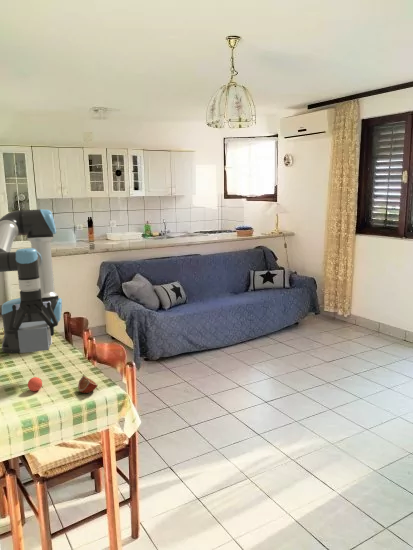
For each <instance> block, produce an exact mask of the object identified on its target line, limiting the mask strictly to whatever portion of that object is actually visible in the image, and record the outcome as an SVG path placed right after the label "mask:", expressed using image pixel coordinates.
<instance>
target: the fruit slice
mask: <svg viewBox="0 0 413 550" xmlns="http://www.w3.org/2000/svg"><path fill="white" fill-rule="evenodd" d="M97 387H98V384H97V383H96V381H94V380H92V379H91V378H89V377H86V376H84V375H82V376H81V377H80V379H79V381H78V385H77V388H78V389H77V390H78V391H79V392H80V393H82V394H90V393H92V392H93V391H94V390H95V389H96V388H97Z"/></svg>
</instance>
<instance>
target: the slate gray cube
mask: <svg viewBox="0 0 413 550" xmlns="http://www.w3.org/2000/svg"><path fill="white" fill-rule="evenodd" d="M48 327H49V326H48V324H47V323H46V322H45V321H37V322H26V323H22V324H21V326H20V327H19V329H18V338H19V347H20V352H19V354H25V353H35V352H44V351H49V350H50V348H51V345H50V344H49V334H48Z"/></svg>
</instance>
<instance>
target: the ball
mask: <svg viewBox="0 0 413 550" xmlns="http://www.w3.org/2000/svg"><path fill="white" fill-rule="evenodd" d="M42 387H43V381H42V379H41V378H40V377H37V376H33V377H31V378H30V379H29V380H28V383H27V388H28V389H29V390H30V391H31V392H38V391H39V390H41V388H42Z"/></svg>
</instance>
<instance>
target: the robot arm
mask: <svg viewBox="0 0 413 550" xmlns="http://www.w3.org/2000/svg"><path fill="white" fill-rule="evenodd" d="M55 234H57V227H56V223H55V218H54V216H53V212H52V211H51V210H50V209H42V208H39V209H25V210H23V209H21V210H14V211H11V212H8V213H7V214H5V215H3V216H2V217H1V218H0V272H1V273H3V272H17V277H18V281H17V282H18V288H19V290H20V291H19V298H14V299H11V300H7V301H5V302H4V303H2V305H1V316H2V324H3V333H4V334H3V339H2V343H1V351H2V352H3V353H5V354H6V353H7V354H17V353H19V354H20V347H19V338H18V329H19V327H20V326H21V324H22V323H26V322H37V321H45V322H46V323H47V324H48V326H49V327H48V334H49V344H50V346H52V344H53V338H52V337H53V336H54V335H55V327H57V326H58V325H59V323H60V321H61V320H62V319H61V318H62V311H63V310H62V307H63V299H62V298H61V297H59V294H58V293H57V292H56V291H55V281H54V280H55V279H54V271H53V258H52V245H51V241H52V240H53V239H54V235H55ZM18 236H19V237H20V236H26V239H27V240H28V241H29V242H30V246H31V247H27V248H25V247H24V248H19V249H17V250H16V251H11V250H12V247H13V243H14V240H15V239H16V237H18Z"/></svg>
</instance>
